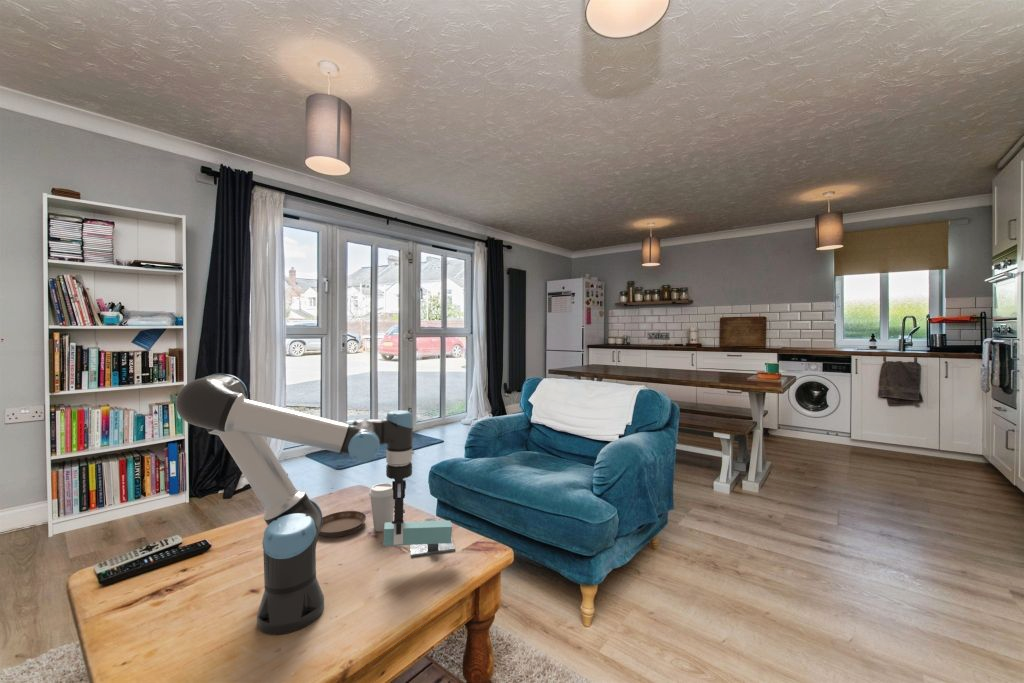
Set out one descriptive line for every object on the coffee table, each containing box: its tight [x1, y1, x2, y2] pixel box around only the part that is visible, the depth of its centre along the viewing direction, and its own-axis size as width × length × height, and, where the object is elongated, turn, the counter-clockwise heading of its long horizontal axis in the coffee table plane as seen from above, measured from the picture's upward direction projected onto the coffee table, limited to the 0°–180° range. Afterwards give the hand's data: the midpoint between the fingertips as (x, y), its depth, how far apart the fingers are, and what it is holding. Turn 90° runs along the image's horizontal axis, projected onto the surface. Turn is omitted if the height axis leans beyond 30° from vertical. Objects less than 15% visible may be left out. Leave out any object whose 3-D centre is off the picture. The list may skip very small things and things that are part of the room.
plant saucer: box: [319, 510, 367, 538], centre depth 158 cm, size 18×18×3 cm
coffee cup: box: [368, 482, 395, 533], centre depth 158 cm, size 10×10×15 cm
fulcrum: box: [409, 517, 456, 558], centre depth 145 cm, size 14×14×6 cm
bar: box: [382, 520, 453, 547], centre depth 132 cm, size 4×20×5 cm, turn 105°
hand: (398, 539), depth 131 cm, fingers closed on bar, 4 cm apart
